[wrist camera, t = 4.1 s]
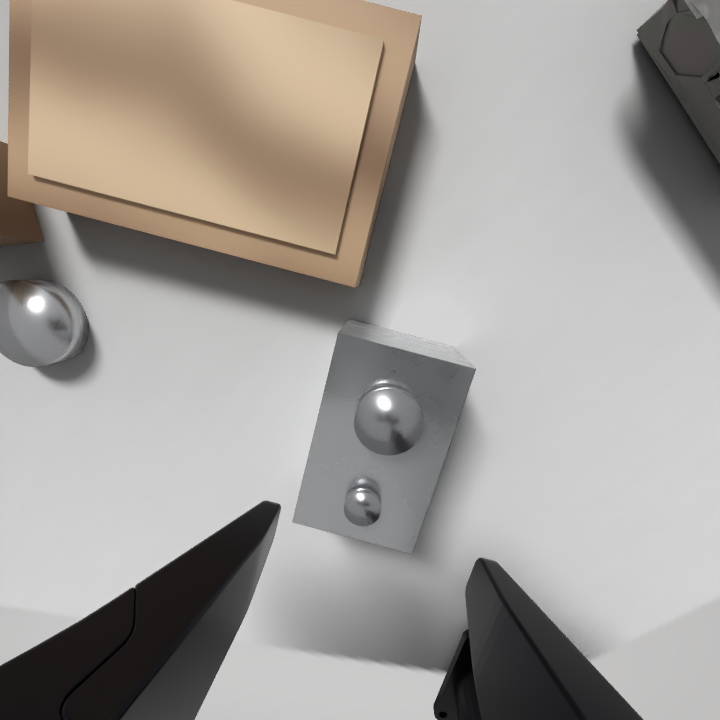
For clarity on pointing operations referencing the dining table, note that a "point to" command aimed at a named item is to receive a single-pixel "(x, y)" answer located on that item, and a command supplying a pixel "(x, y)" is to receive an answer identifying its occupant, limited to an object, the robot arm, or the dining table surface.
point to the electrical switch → (689, 59)
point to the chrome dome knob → (40, 322)
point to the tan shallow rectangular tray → (213, 120)
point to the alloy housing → (381, 435)
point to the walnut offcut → (15, 212)
